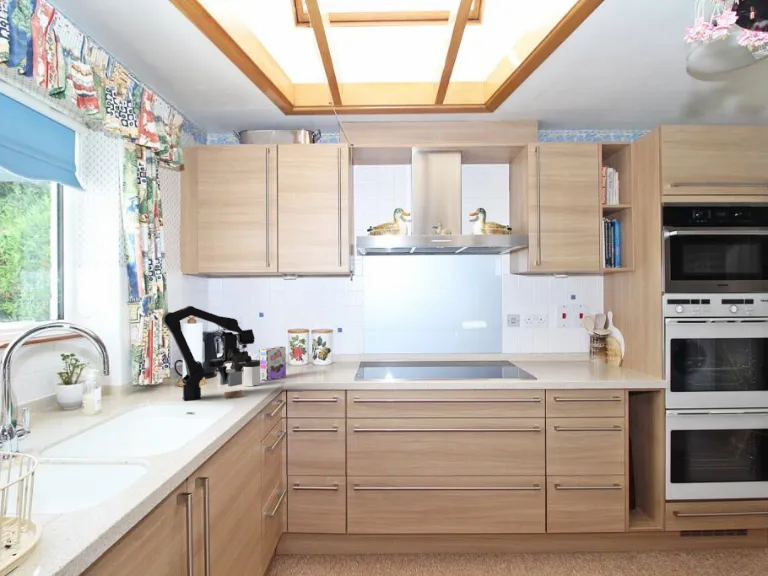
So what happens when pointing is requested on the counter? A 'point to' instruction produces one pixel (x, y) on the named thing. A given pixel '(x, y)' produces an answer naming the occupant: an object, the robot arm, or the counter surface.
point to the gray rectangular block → (232, 378)
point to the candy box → (272, 362)
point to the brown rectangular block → (233, 394)
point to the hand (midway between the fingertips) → (231, 379)
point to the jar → (252, 373)
